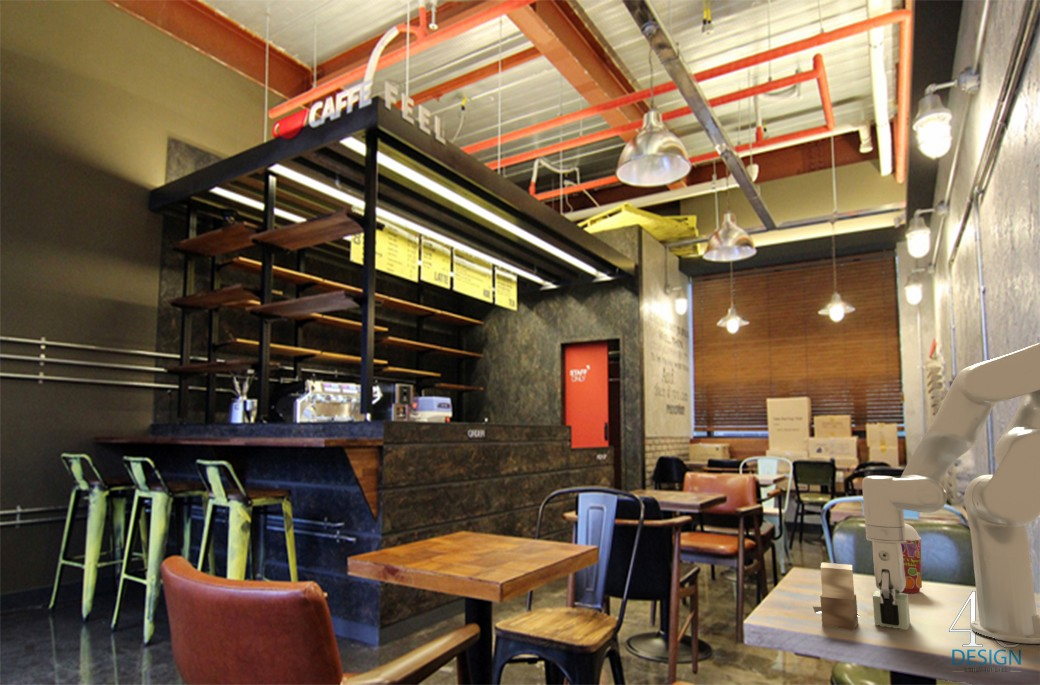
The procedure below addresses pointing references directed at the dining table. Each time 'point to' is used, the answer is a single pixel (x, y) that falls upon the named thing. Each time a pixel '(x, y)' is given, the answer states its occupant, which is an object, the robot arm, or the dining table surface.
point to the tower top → (837, 581)
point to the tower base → (839, 613)
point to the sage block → (902, 610)
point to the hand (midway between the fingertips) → (892, 619)
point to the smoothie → (912, 560)
